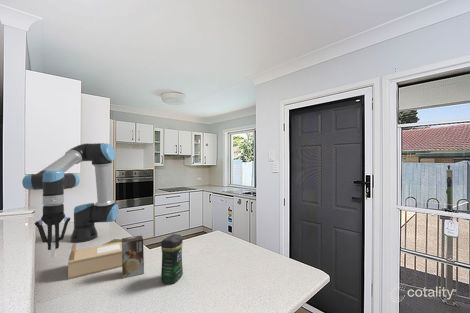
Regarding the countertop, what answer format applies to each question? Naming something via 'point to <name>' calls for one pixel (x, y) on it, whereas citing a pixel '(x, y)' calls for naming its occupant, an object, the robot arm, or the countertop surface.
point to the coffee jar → (171, 259)
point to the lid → (94, 251)
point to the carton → (113, 241)
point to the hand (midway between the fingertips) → (53, 256)
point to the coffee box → (132, 256)
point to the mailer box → (94, 265)
